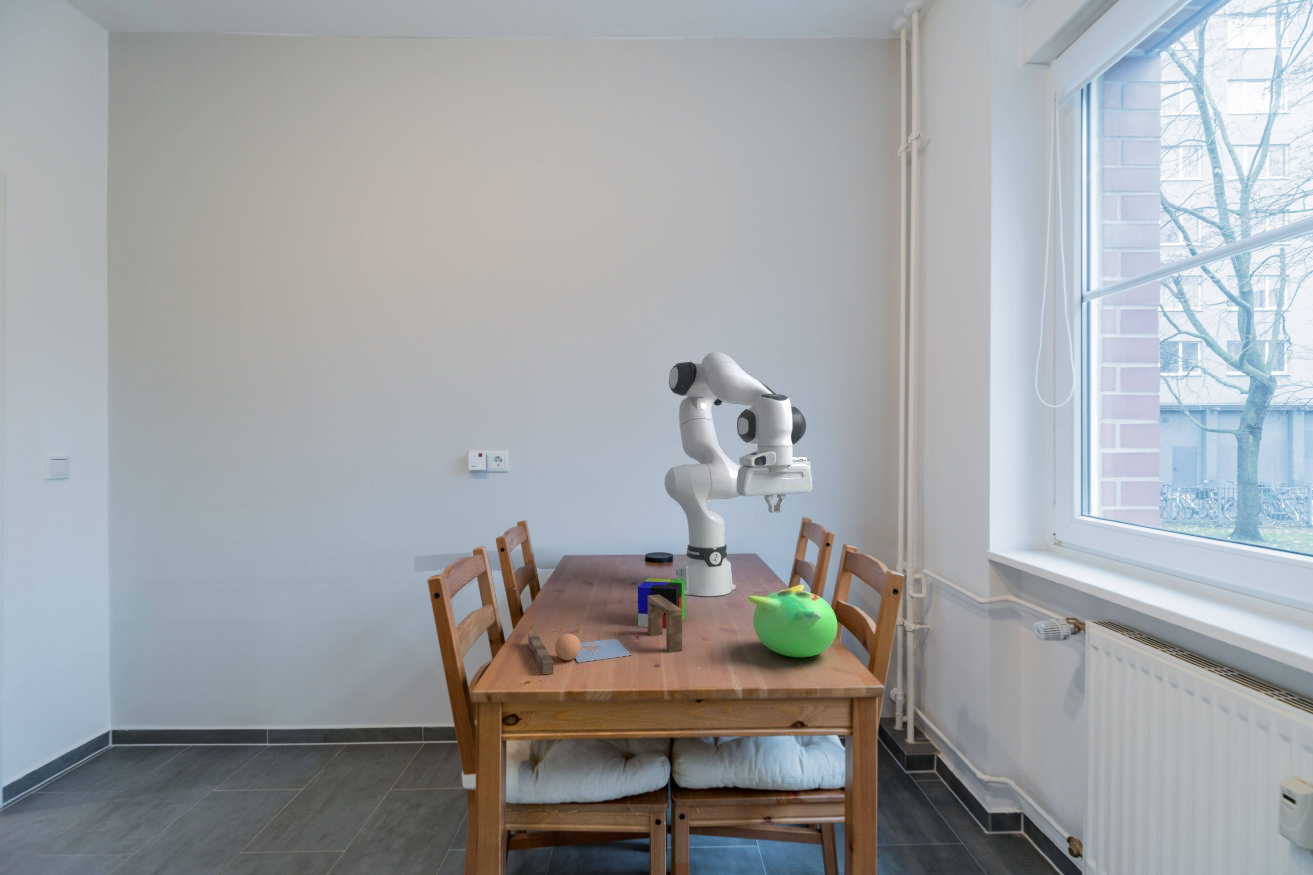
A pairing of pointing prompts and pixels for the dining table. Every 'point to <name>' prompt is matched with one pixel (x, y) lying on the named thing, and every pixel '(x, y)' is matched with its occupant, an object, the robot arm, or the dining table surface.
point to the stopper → (540, 653)
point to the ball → (567, 646)
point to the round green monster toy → (794, 622)
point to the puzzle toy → (666, 589)
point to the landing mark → (602, 650)
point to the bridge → (672, 621)
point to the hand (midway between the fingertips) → (775, 512)
